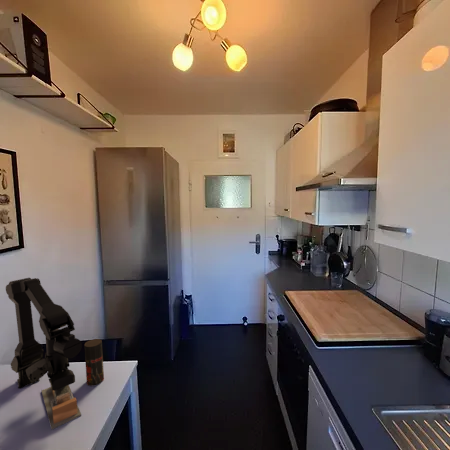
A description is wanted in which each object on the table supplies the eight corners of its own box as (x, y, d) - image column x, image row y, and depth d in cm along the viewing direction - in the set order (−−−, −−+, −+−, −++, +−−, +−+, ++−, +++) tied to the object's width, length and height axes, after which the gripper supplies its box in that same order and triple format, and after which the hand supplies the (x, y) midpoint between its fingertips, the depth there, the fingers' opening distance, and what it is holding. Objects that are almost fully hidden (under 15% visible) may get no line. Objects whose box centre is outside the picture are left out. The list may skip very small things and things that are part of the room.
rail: (41, 392, 97) (40, 378, 97) (66, 382, 103) (66, 369, 102) (51, 429, 81) (50, 413, 80) (81, 415, 86) (80, 400, 85)
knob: (51, 410, 87) (49, 392, 87) (72, 400, 91) (70, 383, 91) (53, 417, 84) (51, 398, 84) (74, 407, 88) (73, 389, 88)
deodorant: (105, 381, 102) (103, 343, 101) (87, 388, 99) (85, 348, 98) (102, 373, 107) (100, 337, 106) (85, 379, 104) (83, 342, 103)
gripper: (24, 346, 91) (27, 391, 92) (29, 371, 77) (34, 423, 78) (62, 335, 98) (65, 376, 99) (73, 356, 84) (77, 404, 85)
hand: (60, 393), depth 90 cm, fingers closed
